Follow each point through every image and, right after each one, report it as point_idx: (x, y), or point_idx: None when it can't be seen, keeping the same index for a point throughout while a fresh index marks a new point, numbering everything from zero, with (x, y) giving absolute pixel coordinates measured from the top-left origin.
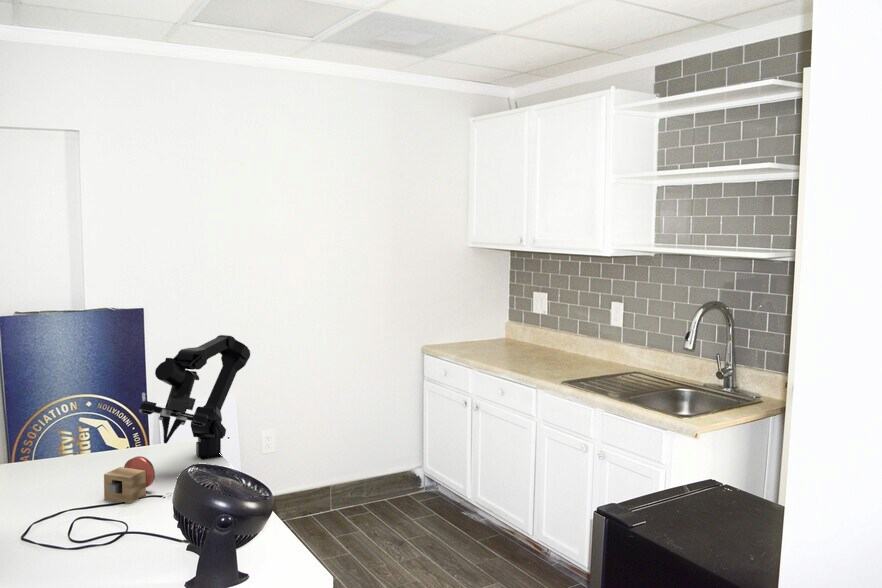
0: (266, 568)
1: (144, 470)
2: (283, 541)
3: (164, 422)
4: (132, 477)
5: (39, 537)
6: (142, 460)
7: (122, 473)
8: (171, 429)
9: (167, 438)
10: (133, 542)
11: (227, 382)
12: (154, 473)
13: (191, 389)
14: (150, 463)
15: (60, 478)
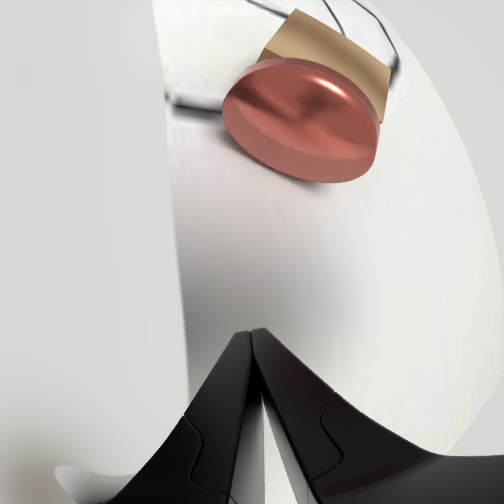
0: None
1: (269, 48)
2: None
3: (421, 463)
4: (290, 14)
5: (357, 8)
6: (307, 60)
7: (340, 49)
8: (227, 440)
9: (243, 354)
10: None
11: None
12: (226, 96)
13: None
14: (262, 73)
15: (465, 303)
